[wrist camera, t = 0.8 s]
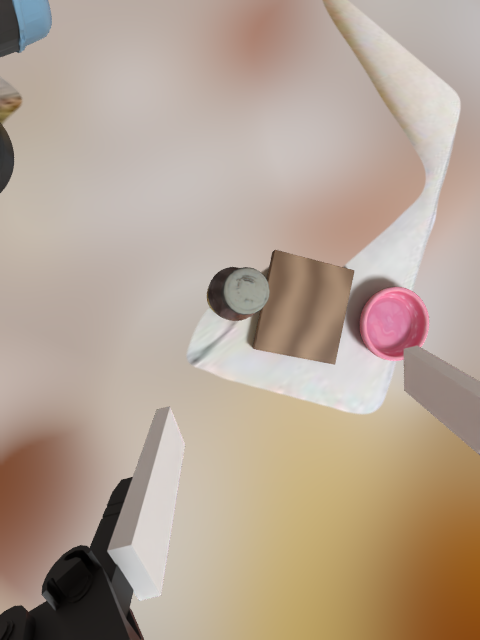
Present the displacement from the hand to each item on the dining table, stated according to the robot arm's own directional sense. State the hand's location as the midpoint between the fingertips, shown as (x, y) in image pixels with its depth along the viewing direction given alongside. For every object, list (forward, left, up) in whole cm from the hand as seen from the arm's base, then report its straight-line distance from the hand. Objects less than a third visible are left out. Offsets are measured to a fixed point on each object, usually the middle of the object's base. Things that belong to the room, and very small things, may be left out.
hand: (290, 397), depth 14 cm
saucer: (+27, +8, -28) cm, 40 cm away
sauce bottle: (-2, +7, -28) cm, 29 cm away
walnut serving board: (+11, +8, -28) cm, 31 cm away
